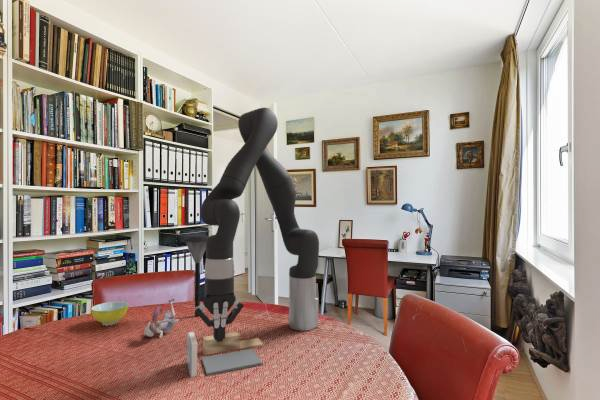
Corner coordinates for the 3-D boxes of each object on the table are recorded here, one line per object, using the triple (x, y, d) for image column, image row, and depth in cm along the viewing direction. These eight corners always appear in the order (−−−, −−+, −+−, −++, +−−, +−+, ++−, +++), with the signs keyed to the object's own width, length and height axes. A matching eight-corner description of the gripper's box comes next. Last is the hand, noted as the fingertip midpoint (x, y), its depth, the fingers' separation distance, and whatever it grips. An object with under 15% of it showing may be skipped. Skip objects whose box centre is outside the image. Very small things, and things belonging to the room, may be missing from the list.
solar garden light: (189, 310, 132) (189, 234, 132) (219, 311, 130) (219, 234, 131) (173, 320, 120) (174, 237, 120) (206, 322, 118) (206, 237, 119)
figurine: (181, 337, 113) (156, 349, 98) (159, 330, 115) (130, 340, 100) (191, 303, 115) (166, 310, 100) (168, 296, 116) (141, 302, 102)
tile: (193, 361, 89) (193, 331, 89) (197, 375, 82) (197, 343, 82) (187, 362, 89) (187, 332, 89) (190, 377, 81) (190, 344, 81)
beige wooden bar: (258, 339, 104) (258, 326, 104) (263, 346, 99) (263, 332, 99) (202, 349, 97) (202, 335, 97) (205, 356, 92) (205, 342, 92)
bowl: (127, 315, 125) (127, 299, 125) (129, 325, 115) (129, 307, 115) (91, 321, 119) (91, 304, 119) (90, 332, 109) (90, 313, 110)
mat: (252, 350, 96) (252, 348, 96) (261, 364, 88) (261, 362, 88) (202, 359, 90) (202, 357, 90) (206, 375, 82) (206, 373, 82)
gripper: (240, 270, 94) (240, 331, 94) (191, 274, 89) (191, 339, 89) (247, 275, 87) (247, 342, 87) (195, 280, 82) (194, 350, 82)
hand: (219, 340), depth 88 cm, fingers closed
